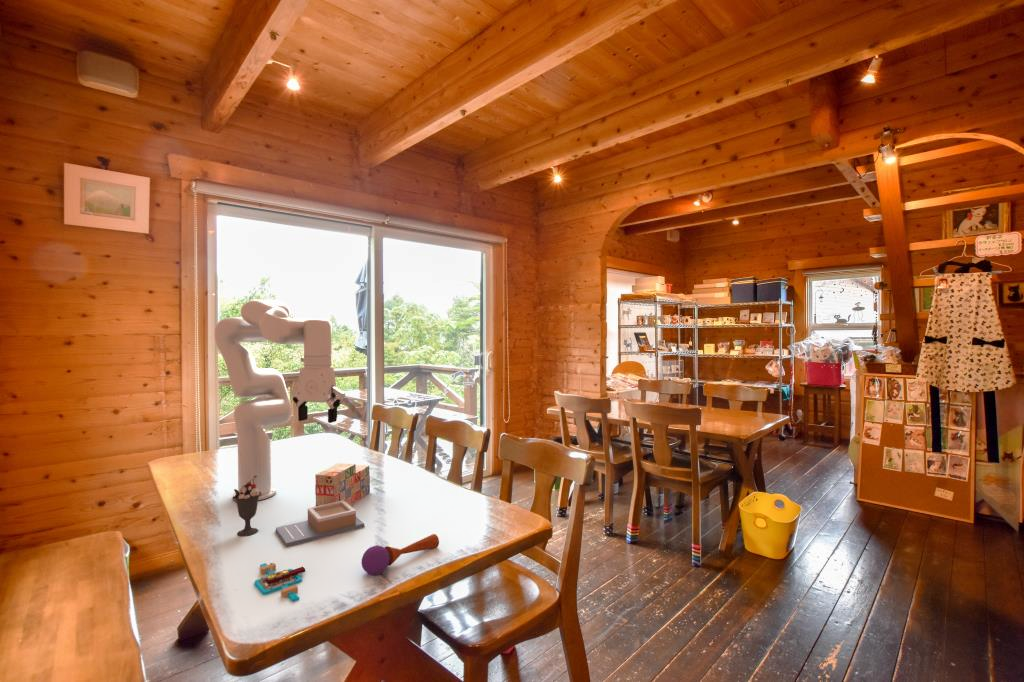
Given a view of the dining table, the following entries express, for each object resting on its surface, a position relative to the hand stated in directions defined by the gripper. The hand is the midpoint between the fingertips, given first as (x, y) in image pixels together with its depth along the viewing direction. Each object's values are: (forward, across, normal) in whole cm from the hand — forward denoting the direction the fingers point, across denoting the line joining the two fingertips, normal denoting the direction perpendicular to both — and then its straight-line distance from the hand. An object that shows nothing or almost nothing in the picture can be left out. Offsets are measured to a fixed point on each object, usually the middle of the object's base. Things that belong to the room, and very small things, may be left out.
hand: (317, 421), depth 138 cm
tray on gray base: (+28, +6, -7) cm, 30 cm away
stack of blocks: (+29, 0, +13) cm, 31 cm away
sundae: (+29, -12, -13) cm, 34 cm away
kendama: (+28, +36, -18) cm, 49 cm away
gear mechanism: (+29, +15, -32) cm, 46 cm away
